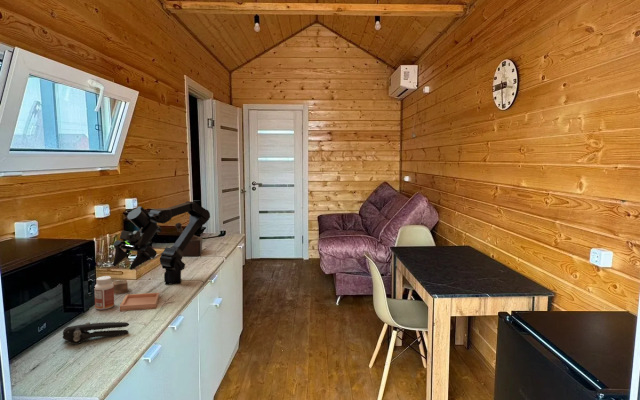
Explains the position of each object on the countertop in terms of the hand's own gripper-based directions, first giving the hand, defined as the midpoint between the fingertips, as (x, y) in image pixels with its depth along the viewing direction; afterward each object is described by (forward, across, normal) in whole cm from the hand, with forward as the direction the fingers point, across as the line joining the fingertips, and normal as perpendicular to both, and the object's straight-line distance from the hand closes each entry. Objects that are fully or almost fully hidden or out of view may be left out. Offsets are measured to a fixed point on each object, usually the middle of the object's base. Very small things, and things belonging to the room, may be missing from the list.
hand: (121, 267), depth 146 cm
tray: (+8, +8, +10) cm, 16 cm away
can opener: (+27, +20, -8) cm, 35 cm away
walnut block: (+5, -10, +14) cm, 18 cm away
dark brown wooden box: (-38, -30, +57) cm, 75 cm away
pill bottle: (+15, 0, +4) cm, 15 cm away
